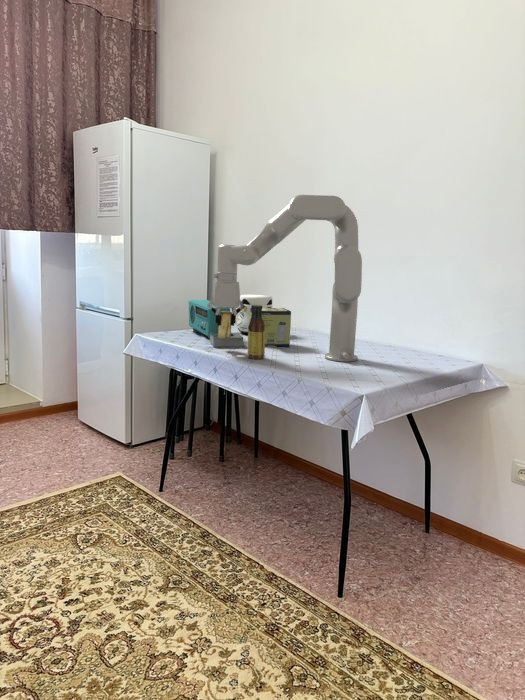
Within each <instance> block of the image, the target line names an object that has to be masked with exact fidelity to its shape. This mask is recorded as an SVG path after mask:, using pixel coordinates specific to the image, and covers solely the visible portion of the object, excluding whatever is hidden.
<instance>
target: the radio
mask: <svg viewBox="0 0 525 700" xmlns="http://www.w3.org/2000/svg"><path fill="white" fill-rule="evenodd" d="M210 301H211V300H208V299H189V300H188V325H189V327H191V328H192V332H193V333H201V334H203V335H205V336H207V337H208V340H210V333H218V331H219V326H218V325H217V323H215V317H216V314H215V313H214V312H213V311H212V310H211V309H209V308H208V307H207V304H208V303H209V302H210ZM212 307H213V308H214V309H215V310H216V307H215V306H214V305H213V304H212ZM220 311H229V312H231V308H220ZM220 311H219V315H220Z"/></svg>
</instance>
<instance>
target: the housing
mask: <svg viewBox="0 0 525 700" xmlns="http://www.w3.org/2000/svg"><path fill="white" fill-rule="evenodd" d="M209 343H210V344H211V346H212V348H214V349H215V348H220V349H221V348H223V349H224V348H226V349H227V348H240V349H241V348H244V336H243V335H241V334H240V332H231V337H230V338H229V339H224V338H219V337H218V333H210V339H209Z"/></svg>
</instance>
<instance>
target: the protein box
mask: <svg viewBox="0 0 525 700" xmlns="http://www.w3.org/2000/svg"><path fill="white" fill-rule="evenodd" d="M251 315H252V309H251V308H250V320H251ZM262 319H263V321H264V324H265V346H274V347H276V348H277V347H285V348H290V344H291V326H292V325H291V324H292V322H291V321H292V311H291V310H289V309H287V308H285V307H272V308H262Z"/></svg>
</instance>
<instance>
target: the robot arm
mask: <svg viewBox="0 0 525 700" xmlns="http://www.w3.org/2000/svg"><path fill="white" fill-rule="evenodd" d="M306 220H310V221H312V220H313V221H327V222H329V223H331V225H333V228H334V255H333V263H334V283H333V286H332V293H331V294H332V297H331V318H330V332H329V349H328V352H327V353H325V354H324V358H325V359H326V360H329V361H333V362H355V361H358V359H359V356H358V355H356V354H355V347H356V334H357V332H356V331H357V319H358V307H359V306H358V305H359V304H358V303H359V301H358V300H359V297H360V295H361V293H362V280H363V277H362V275H363V258H362V254H361V251H360V250H359V224H358V220H357V217H356V215H355V213H354V211H353V210H352V209H351V208H350V207H349V206H348V205H346V204H345V202H344V200H343V199H342V198H341V197H339V196H337V195H322V194H321V195H319V194H318V195H317V194H315V195H314V194H298V195H294V197H292V199H290V202H289V203H288V204H287V205H285V207H284V208H283V209H281V210H280V211H279V212H278V213H277V214H276V215H274V216H273V217H272V218H271V219H270V220H269V221H267V223H266V225H264V228H263V229H262V230H261V231H260V233H258V234H257V235H256V236H255V237H254V238H252V240H250V241H249V242H248V243H247V244H243V245H235V244H220V245H218V247H217V264H216V265H217V267H216V268H217V269H216V270H217V271H216V273H213V275H212V277H213V278H212V279H216V280H215V281H214V285H213V294H212V298H211V300H209V301H210V302H209V303H208V304H207V307H208V308H209V309H211V310H212V311H213V312H214V313H215V314H216V317H215V323H217V325H218V326H219V325H220V315H219V311H220V308H230V309H231V312H232V324H231V327H234V326H235V324H236V323H237V320H236V318H237V315H238V314H239V312H240V311H241V310H242V309H244V308H245V306H244V304H243V303H242V301H241V300H240V295H241V291H240V290H241V288H240V282H239V281H237V280H238V265H241V266H251V265H254V264H256V263H257V262H258V261H260V260H261V259H262V258H263V257H264V256H265V255H267V253H269V252H270V251H271V250H272V249H273V248H274V247H276V246H277V245H278V244H280V243H281V242H283V240H284V239H286V238H287V237H288V236H289V235H290V234H291V233H292V232H294V231H295V230H296V229H297V228H299V226H301V225H302V224H303V223H304V222H306ZM212 304H213V305H214V306H215V307H216V310H215V309H214V308H213V307H212Z"/></svg>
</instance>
